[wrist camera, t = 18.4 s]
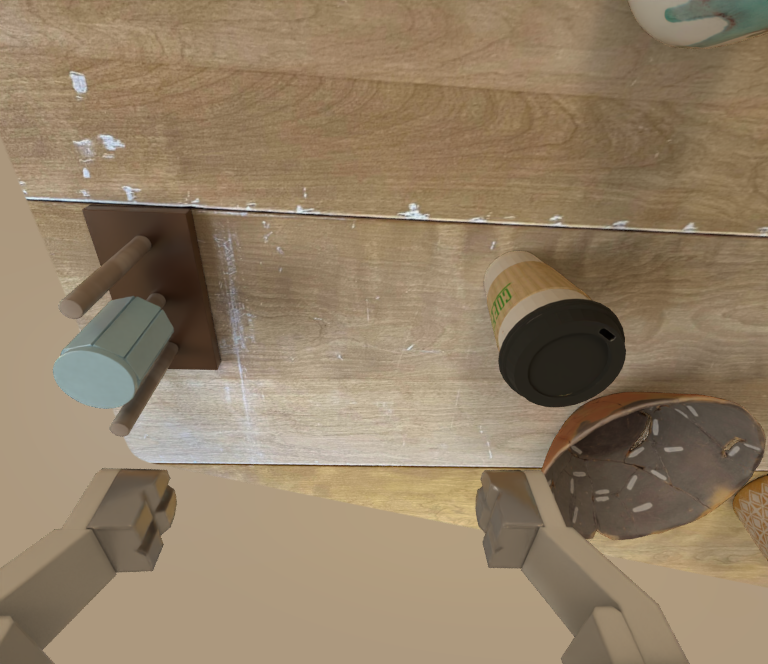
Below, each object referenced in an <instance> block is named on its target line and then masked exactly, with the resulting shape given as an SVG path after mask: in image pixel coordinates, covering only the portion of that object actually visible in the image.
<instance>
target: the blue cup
mask: <svg viewBox="0 0 768 664" xmlns="http://www.w3.org/2000/svg"><path fill="white" fill-rule="evenodd" d="M173 332H174V328H173V326H172V324H171V322H170V321H169V319H168V317H167V315H166V314H165V312H164V310H163V309H162V310H161V307H159V306H157V305H155V304H153V303H150V302H148V301H146V300H144V299H142V298H140V297H137V296H136V297H135V296H131V297H126V298H121V299H116V300H111V301H110V302H109V303H108V304H107V305H106V306H105V307H104V308H103V309H102V310H101V311H100V312H99V313H98V314H97V315H96V316H95V317H94V318H93V319H92V320H91V321H90V322H89V323H88V324H87V325H86V326H85V327H84V328H83V329H82V330H81V332H80V333H79V334H78V335H77V336H76V337H75V338H74V339H73V340H72V341H71V342H70V343H69V344H68V345H67V346H66V347H65V348H64V349H63V350H62V352H61V355H60V357H59V358H58V359H57V360H56V362H55V364H54V367H53V374H54V378H55V381H56V382H57V384H58V386H59V387H60V388H61V389H62V390H63V391H64V392H65V393H66V394H67V395H68V396H70V397H71V398H73V399H75V400H76V401H78V402H80V403H82V404H85V405H88V406H91V407H95V408H104V409H109V408H116V407H120V406H123V405H125V404H126V403H128V402H129V401H130V400H131V399H133V398H134V396H135V395H136V393H137V392H138V390H139V389H140V387H141V386H142V384H143V382H144V381H145V379H146V378H147V376H148V375H149V373H150V372H151V370H152V368H153V367H154V365H155V364H156V362H157V361H158V359H159V358H160V356H161V354H162V353H163V351H164V350H165V348H166V347H167V345H168V343H169V341H170V339H171V336H172V334H173Z"/></svg>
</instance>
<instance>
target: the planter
mask: <svg viewBox="0 0 768 664" xmlns="http://www.w3.org/2000/svg"><path fill="white" fill-rule="evenodd" d="M733 509H734V511H735V513H736V515H737V516H738V518H739V519H740V521H741V522H742V524H743V525H744V527H745V528H746V530H747V531H748V533H749V534H750V536H751V537H752V539H753V540H754V542H755V543H756V545H757V546H758V548H759V549H760V551H761V552H762V554H763V555H764V557H765V558H766V560H767V561H768V475H767V476H763V477H761V478H758V479H756V480H754V481H752V482H750V483H749V484H747V485H746V486H744V487H743V488H742V489H741V490H740V491H739V492H738V493H737V494H736V496H735V498H734V500H733Z"/></svg>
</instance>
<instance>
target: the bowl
mask: <svg viewBox="0 0 768 664" xmlns="http://www.w3.org/2000/svg"><path fill="white" fill-rule="evenodd" d="M642 412H645V413H648V414H650V426H649V434H648V437H647V438H646V440H643V442H642V443H641V444H640V445H639V446H637V447H636V448H635V449H633V450H632V451H631V450H630V449H631V447H632V446H633V445H634V443H635V441H636V440H637V439H638V438H639V437H640V434H641V433H642V432H643V430H644V429H645V427H646V424H647V421H648V418H647V416H646V415H645V414H644V413H642ZM733 440H739V442H737V443H735V444H734V445H733V446H732V447H731V448H730V450H725V451H724V448H726V447H727V446H728V445H729V443H731V442H732V441H733ZM765 441H766V438H765V434H764V431H763V429H762V427H761V425H760V424H759V423H758V422H757V421H756V419H755V417H754V416H752V415H751V414H750V413H749V411H748V410H747V409H745V408H744V407H743V406H741V405H739V404H738V403H736V402H733V401H729V400H725V399H721V398H716V397H711V396H706V395H699V394H677V393H660V392H623V393H616V394H611V395H608V396H604V397H600V398H597V399H594V400H592V401H590V402H588V403H586V404H584V405H583V406H581V407H580V408H579V409H577V410H576V411H575V412H574V413H573V414H572V415H571V416H570V417H569V418H568V419H567V420H566V422H565V423H564V424H563V426H562V428H561V429H560V431H559V432H558V434H557V435H556V437H555V438H554V440H553V442H552V444H551V447H550V449H549V451H548V453H547V456H546V458H545V461H544V464H543V467H542V470H541V471H542V472H543V473H544V475H545V477H546V480H547V482H548V484H549V487H550V489H551V492H552V494H553V496H554V499H555V501H556V503H557V506H558V508H559V510H560V513H561V515H562V517H563V520H564V522H565V524H566V527H572V528H574V529H575V530H576V531H577V532H578V533H579V534H580V535H581V536H583V537H584V538H585V539H592V538H593V537H594V535H595V532H596V531H597V532H599V533H600V534H602V535H604V536H606V537H608V538H610V539H612V540H625V539H634V538H639V537H643V536H647V535H651V534H660V533H663V532H666V531H669V530H671V529H674V528H676V527H679V526H682V525H685V524H688V523H691V522H693V521H696V520H698V519H700V518H702V517H703V516H705V515H707V514H708V513H710V512H712V511H713V510H714V509H716V508H717V507H719V506H720V505H721V504H723V503H724V502H725V501H726V500H728V499H729V498H730V497H731V496H732V495H734V494H735V493H736V492H737V491H738V490H739V489H740V488H741V487H742V486H744V485H745V484H746V483H747V482H748V480H749V479H750V478H751V477H752V475H753V472H754V471H755V470H756V468H757V467H758V465H759V464H760V462H761V460H762V458H763V454H764V449H765ZM725 456H726V457H725Z"/></svg>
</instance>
